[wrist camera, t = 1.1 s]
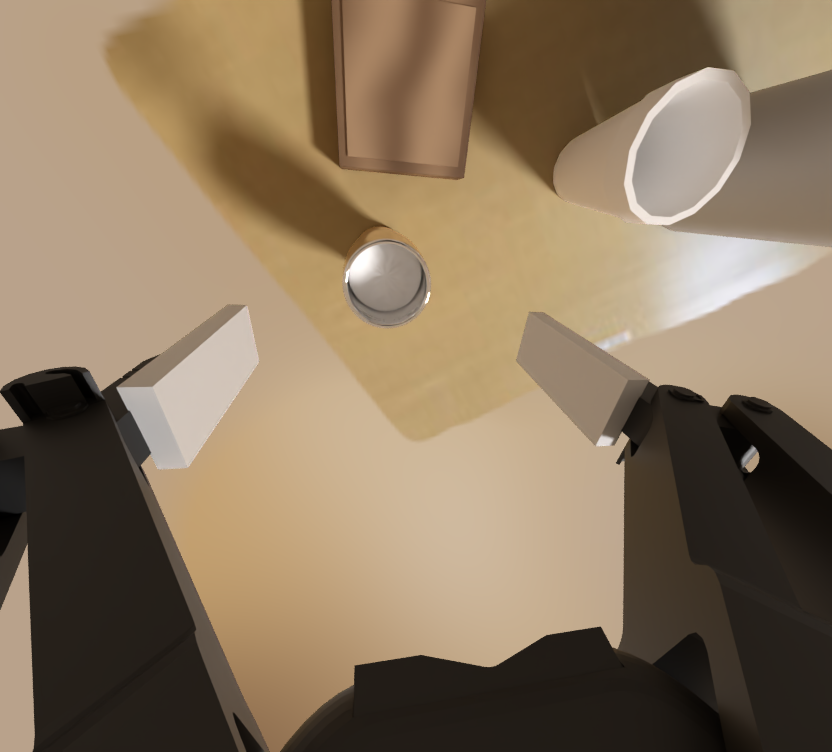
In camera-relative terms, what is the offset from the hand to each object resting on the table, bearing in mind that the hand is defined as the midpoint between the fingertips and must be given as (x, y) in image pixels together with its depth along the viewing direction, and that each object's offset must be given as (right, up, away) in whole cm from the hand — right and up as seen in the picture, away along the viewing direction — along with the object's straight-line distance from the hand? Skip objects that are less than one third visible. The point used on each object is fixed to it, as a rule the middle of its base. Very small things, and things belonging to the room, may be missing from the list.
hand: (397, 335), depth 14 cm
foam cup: (+19, +21, +19) cm, 34 cm away
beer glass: (-3, +12, +21) cm, 24 cm away
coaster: (0, +24, +14) cm, 28 cm away
